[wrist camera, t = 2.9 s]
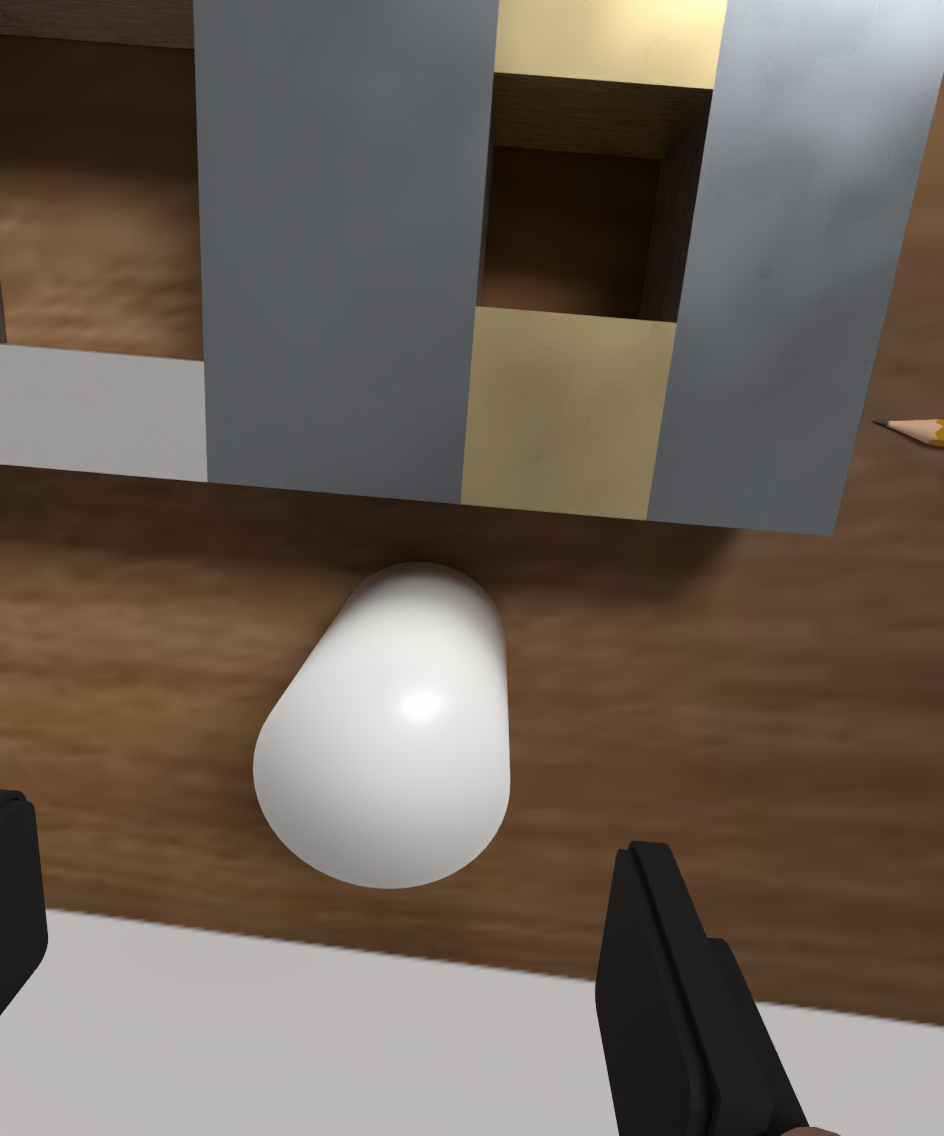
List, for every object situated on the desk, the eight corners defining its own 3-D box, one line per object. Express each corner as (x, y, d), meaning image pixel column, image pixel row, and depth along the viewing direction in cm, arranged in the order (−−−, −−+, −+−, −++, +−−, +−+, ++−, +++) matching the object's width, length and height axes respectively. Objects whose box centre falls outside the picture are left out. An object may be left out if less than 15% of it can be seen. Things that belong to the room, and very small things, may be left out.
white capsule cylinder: (339, 553, 19) (251, 651, 12) (513, 569, 19) (522, 675, 12) (334, 711, 20) (254, 876, 14) (497, 726, 20) (497, 899, 13)
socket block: (-194, -111, 15) (-431, -280, 11) (869, -30, 15) (1002, -174, 11) (-109, 428, 18) (-269, 440, 14) (760, 502, 18) (832, 536, 14)
